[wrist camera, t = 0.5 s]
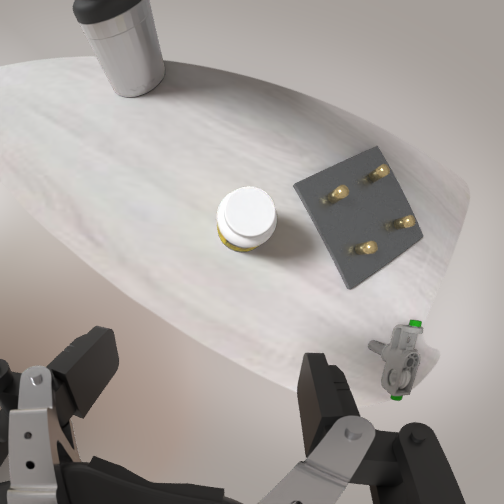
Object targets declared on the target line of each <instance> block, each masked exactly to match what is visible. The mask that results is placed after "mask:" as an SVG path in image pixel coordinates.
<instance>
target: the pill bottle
mask: <svg viewBox="0 0 504 504" xmlns="http://www.w3.org/2000/svg"><path fill="white" fill-rule="evenodd" d="M276 223H277V212H276V208H275V204H274V202H273V200H272V198H271V197H270V196H269V194H268V193H266V192H265V191H264V190H262V189H260V188H257V187H252V186H248V187H242V188H239V189H237V190H234V191H232V192H231V193H229V194H228V195H227V196H226V197H225V198H224V199H223V200H222V202H221V203H220V205H219V208H218V211H217V230H218V235H219V237H220V239H221V241H222V242H223V244H224V245H225V246H226V247H228V248H229V249H231V250H233V251H237V252H247V251H250V250H253V249H255V248H256V247H258V246H259V245H261V244H263V243H264V242H266V241H267V240H268V239H269V238H270V237H271V235H272V234H273V232H274V230H275V227H276Z"/></svg>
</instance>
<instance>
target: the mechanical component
mask: <svg viewBox="0 0 504 504" xmlns="http://www.w3.org/2000/svg"><path fill="white" fill-rule="evenodd" d="M421 323H422V321H418V320H410V323H409V325H397V326H396V327H395V328H394V330H393V333H392V338H391V343H390V344H388V345H385V344H382V343H380V342H378V341H376V342H375V341H370V342H369V344H368V348H369V349H370V350H372V351H374V352H376V353H378V354H380V355H381V357H382V360H383V361H385V362H386V364H385V367H384V371H383V375H382V379H381V383H382V387H383V388H384V389H386V390H387V392H388V393H390V394H391V397H390V398H391V399H393V400H397V401H400V400H401V399H402V397H403V395H410V392H411V389H412V386H413V382H414V379H415V376H416V372H417V369H418V366H419V364H420V355H419V353H418V352H417V350H415V349H414V346H415V342H416V337H417V333H418V334H421V333H422V332H423V328H422V327H421ZM408 337H409V338H410V340H409V342H408V343H407V341H408ZM410 373H411V374H410ZM410 377H411V378H410Z"/></svg>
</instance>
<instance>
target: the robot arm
mask: <svg viewBox="0 0 504 504" xmlns="http://www.w3.org/2000/svg"><path fill="white" fill-rule="evenodd" d="M73 11H74V14H75V16H76V18H77V20H78V22H79V24H80V26H81V28H82V30H83V32H84V34H85V36H86V38H87V40H88V42H89V44H90V46H91V48H92V49H93V51H94V53H95V55H96V57H97V59H98V61H99V63H100V65H101V67H102V69H103V70H104V72H105V74H106V76H107V78H108V80H109V82H110V84H111V85H112V87H113V89H114V91H115V92H116V93H117V94H118V95H120V96H123V97H135V96H139V95H142V94H145V93H147V92H149V91H150V90H152V89H153V88H155V87H156V86H157V85H158V84H159V83H160V82H161V80H162V79H163V77H164V74H165V67H164V62H163V59H162V54H161V50H160V45H159V41H158V37H157V32H156V28H155V24H154V19H153V14H152V10H151V5H150V1H149V0H75V2H74V4H73ZM118 366H119V357H118V352H117V347H116V342H115V336H114V332H113V330H112V329H109V328H104V327H100V326H95V327H94V328H93V329H92V330H91V331H89V332H88V333H87V334H85V335H82V336H81V337H78V338H76V339H75V340H74V341H73V342H72V343H71V344H70V345H69V346H67V347H66V348H65V350H64V351H62V352H61V353H60V354H59V355H58V356H57V357H56V358H55V359H54V360H53V361H52V362H51V363H50V364H49V365H48V366H47V367H43V366H33V367H30V368H28V369H26V370H25V371H24V372H23V373H15V372H11V370H10V368H9V365H8V363H7V362H6V361H5V360H3V359H0V406H1V408H2V409H1V410H0V466H1V465H2V463H3V461H4V460H5V458H6V457H7V455H8V454H9V470H10V481H7V482H2V483H0V504H242V503H240V502H238V501H236V500H233V499H231V498H228V497H225V496H224V489H223V488H214V487H206V486H200V485H194V484H174V483H173V484H172V483H153V482H149V481H147V480H145V479H143V478H142V477H140V476H138V475H136V474H134V473H133V472H131V471H129V470H127V469H126V468H124V467H122V466H120V465H117V464H114V463H111V462H108V461H106V460H103V459H101V458H98V457H96V456H93V458H92V460H91V462H90V463H88V462H82V461H81V459H80V456H79V453H78V448H77V444H76V439H75V434H74V429H73V423H72V421H71V419H70V418H71V417H72V415H75V416H78V417H80V418H84V417H85V416H86V414H87V413H88V411H89V410H90V408H91V407H92V405H93V404H94V403H95V401H96V400H97V398H98V397H99V395H100V394H101V392H102V391H103V390H104V388H105V387H106V385H107V384H108V383H109V381H110V380H111V378H112V377H113V376H114V374H115V373H116V371H117V369H118ZM297 397H298V404H299V410H300V418H301V425H302V432H303V440H304V447H305V454H306V457H307V459H306V460H305V461H304V462H302V461H301V462H299V463H298V464H297V465H296V466H295V467H294V468H293V469H292V470H291V471H290V472H289V473H288V474H287V475H286V476H285V477H284V478H283V479H282V480H281V481H280V482H279V483H278V484H277V485H276V486H275V488H273V489H272V490H271V491H270V492H269V493H268V494H267V495H266V496H265V497H264V498H263V499H262V500H261V501H260V502H259V503H258V504H335V503H336V501H337V500H338V498H339V497H340V496H341V494H342V493H343V491H344V490H345V488H346V487H347V485H348V483H354V484H364V485H369V486H370V491H371V496H372V501H373V504H465V501H464V498H463V496H462V494H461V491H460V489H459V486H458V483H457V481H456V479H455V477H454V474H453V472H452V470H451V467H450V465H449V463H448V461H447V458H446V456H445V454H444V452H443V450H442V448H441V446H440V443H439V441H438V439H437V437H436V435H435V433H434V432H433V430H432V429H431V428H430V427H428V426H427V425H425V424H422V423H415V422H414V423H409V424H406V425H405V426H403V427H402V428H401V430H400V432H399V433H398V432H386V431H379V430H376V429H375V428H374V426H373V425H372V423H371V422H369V421H368V420H367V419H365V418H363V417H360V414H359V411H358V409H357V406H356V404H355V401H354V398H353V396H352V393H351V391H350V388H349V385H348V383H347V380H346V378H345V375H344V373H343V372H342V371H341V370H340V369H339V368H338V367H337V366H336V365H328V363H327V360H326V358H325V355H324V353H305V354H304V357H303V362H302V366H301V371H300V376H299V380H298V387H297Z"/></svg>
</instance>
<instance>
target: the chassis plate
mask: <svg viewBox="0 0 504 504" xmlns="http://www.w3.org/2000/svg"><path fill="white" fill-rule="evenodd" d="M293 187H294V188H295V190H296V192H297V194H298V195H299V197H300V199H301V201H302V202H303V204H304V206H305V208H306V210H307V211H308V213H309V215H310V217H311V219H312V221H313V222H314V224H315V226H316V228H317V230H318V232H319V234H320V236H321V237H322V239H323V241H324V243H325V245H326V247H327V249H328V251H329V253H330V255H331V257H332V259H333V261H334V263H335V265H336V267H337V269H338V271H339V273H340V275H341V277H342V279H343V281H344V283H345V285H346V287H347V289H351V288H352V287H354V286H355V285H357V284H358V283H360V282H361V281H363V280H364V279H366V278H367V277H369V276H370V275H371V274H373V273H374V272H376V271H377V270H379V269H380V268H381V267H383V266H384V265H386V264H387V263H388V262H390V261H391V260H393V259H394V258H395V257H397V256H398V255H399V254H401V253H402V252H403V251H405V250H406V249H407V248H409V247H410V246H411V245H413V244H414V243H415V242H417V241H418V240H419V239H420V238H422V237H423V234H422V232H421V229H420V227H419V225H418V222H417V220H416V218H415V216H414V214H413V211H412V209H411V207H410V205H409V203H408V201H407V199H406V197H405V195H404V193H403V191H402V189H401V187H400V185H399V183H398V181H397V180H396V178H395V176H394V174H393V172H392V170H391V169H390V167H389V165H388V163H387V161H386V160H385V158H384V156H383V155H382V153H381V151H380V150H379V148H378V146H377V147H374V148H372V149H370V150H367V151H365V152H363V153H361V154H358V155H356V156H354V157H351V158H349V159H347V160H345V161H343V162H340V163H338V164H336V165H334V166H332V167H329V168H327V169H325V170H323V171H321V172H319V173H316V174H314V175H312V176H310V177H308V178H306V179H304V180H302V181H300V182H297V183H295V184H294V185H293Z"/></svg>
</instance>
